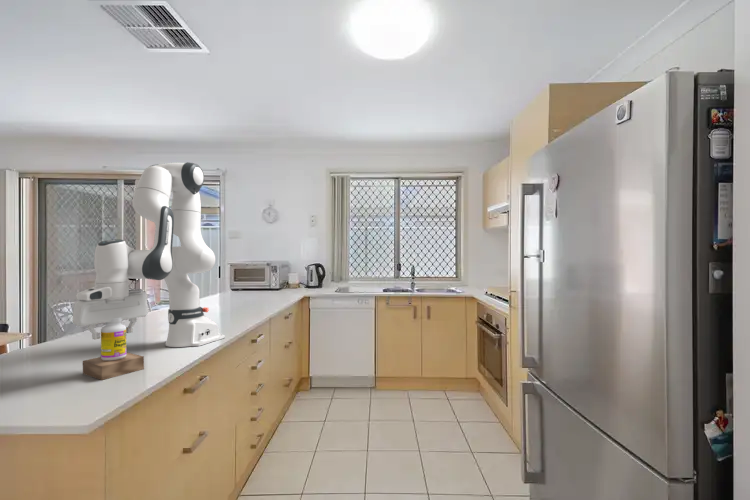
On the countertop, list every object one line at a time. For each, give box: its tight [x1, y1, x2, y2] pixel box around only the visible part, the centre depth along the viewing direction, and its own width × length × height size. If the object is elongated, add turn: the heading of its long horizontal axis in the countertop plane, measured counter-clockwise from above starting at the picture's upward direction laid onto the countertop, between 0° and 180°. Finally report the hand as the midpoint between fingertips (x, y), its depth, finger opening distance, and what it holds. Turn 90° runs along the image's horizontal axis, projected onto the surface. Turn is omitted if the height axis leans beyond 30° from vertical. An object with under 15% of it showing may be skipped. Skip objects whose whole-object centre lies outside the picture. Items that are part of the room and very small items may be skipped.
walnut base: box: [82, 351, 145, 381], centre depth 123 cm, size 12×12×4 cm
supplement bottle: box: [100, 317, 127, 361], centre depth 123 cm, size 7×7×13 cm
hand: (113, 335), depth 123 cm, fingers open, 8 cm apart
